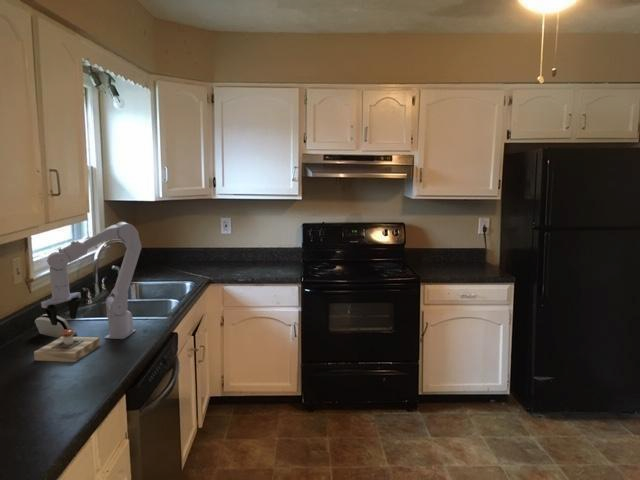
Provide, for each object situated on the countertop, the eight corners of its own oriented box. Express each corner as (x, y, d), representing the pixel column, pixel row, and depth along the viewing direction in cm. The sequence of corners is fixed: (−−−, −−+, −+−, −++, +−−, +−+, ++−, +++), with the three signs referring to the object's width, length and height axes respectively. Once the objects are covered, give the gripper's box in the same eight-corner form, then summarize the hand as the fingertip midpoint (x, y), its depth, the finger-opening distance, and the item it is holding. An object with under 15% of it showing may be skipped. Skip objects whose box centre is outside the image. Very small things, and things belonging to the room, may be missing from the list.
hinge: (78, 335, 193) (68, 314, 188) (68, 343, 189) (57, 322, 185) (51, 329, 200) (41, 309, 196) (41, 336, 197) (30, 316, 192)
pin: (68, 350, 177) (65, 328, 176) (78, 350, 177) (75, 329, 175) (61, 354, 173) (58, 332, 172) (71, 355, 173) (68, 332, 172)
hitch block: (63, 344, 184) (62, 335, 183) (100, 345, 182) (99, 336, 181) (34, 360, 169) (33, 351, 168) (75, 361, 167) (74, 352, 166)
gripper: (48, 291, 170) (53, 329, 172) (85, 281, 182) (88, 317, 185) (35, 289, 173) (39, 326, 175) (72, 280, 186) (75, 314, 188)
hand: (64, 321), depth 180 cm, fingers open, 7 cm apart
